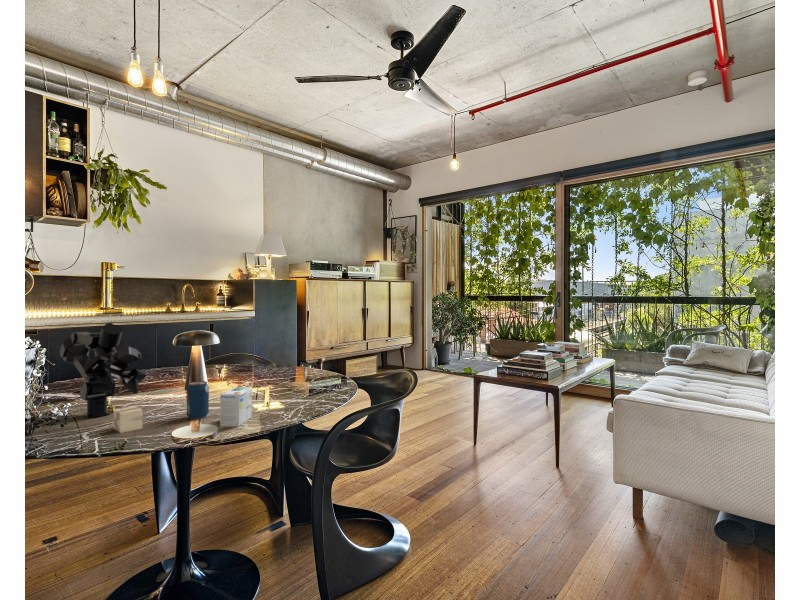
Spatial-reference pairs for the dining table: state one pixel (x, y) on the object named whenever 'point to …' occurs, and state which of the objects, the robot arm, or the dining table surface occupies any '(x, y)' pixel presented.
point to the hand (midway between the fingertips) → (124, 389)
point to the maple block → (127, 419)
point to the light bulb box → (235, 406)
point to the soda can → (197, 400)
